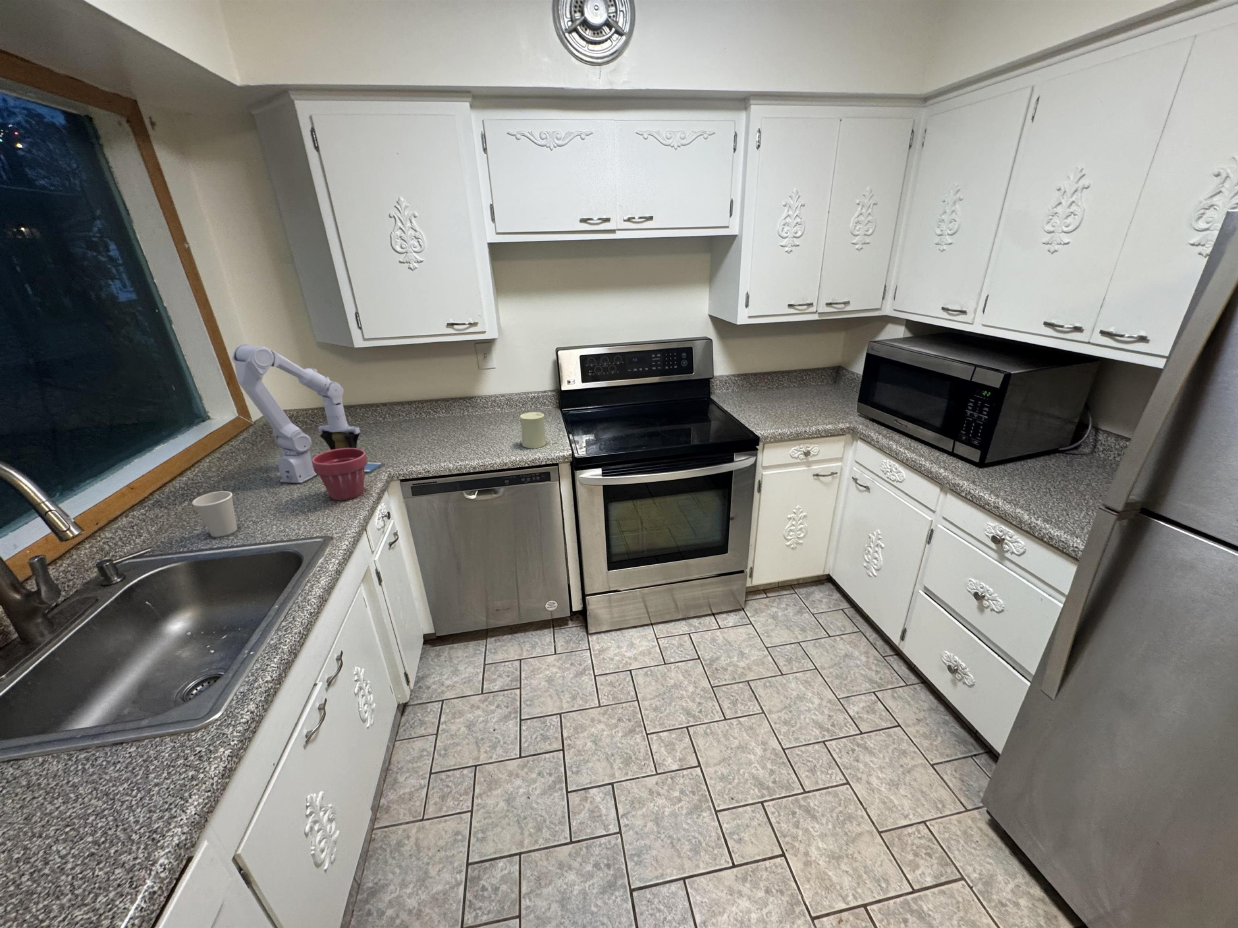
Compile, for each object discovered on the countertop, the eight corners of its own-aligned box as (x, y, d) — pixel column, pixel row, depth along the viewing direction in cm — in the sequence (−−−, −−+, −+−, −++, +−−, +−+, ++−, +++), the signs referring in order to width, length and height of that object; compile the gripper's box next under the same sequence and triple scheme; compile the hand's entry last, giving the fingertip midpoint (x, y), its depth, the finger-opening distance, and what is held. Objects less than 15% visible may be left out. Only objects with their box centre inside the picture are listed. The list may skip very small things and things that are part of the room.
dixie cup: (237, 520, 140) (226, 488, 136) (247, 530, 135) (236, 496, 131) (200, 532, 134) (188, 498, 130) (209, 542, 129) (196, 508, 125)
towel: (369, 473, 170) (368, 471, 170) (345, 471, 171) (344, 470, 171) (382, 464, 177) (382, 462, 177) (359, 463, 179) (359, 461, 178)
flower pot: (376, 482, 163) (369, 445, 158) (368, 500, 150) (360, 461, 146) (328, 487, 160) (318, 449, 155) (315, 506, 147) (305, 466, 142)
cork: (347, 464, 178) (340, 434, 173) (332, 463, 179) (325, 433, 175) (359, 458, 183) (352, 429, 179) (344, 456, 184) (337, 428, 180)
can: (548, 446, 193) (546, 416, 188) (524, 449, 190) (522, 419, 185) (543, 438, 201) (541, 409, 196) (520, 441, 198) (517, 412, 193)
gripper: (361, 412, 177) (369, 448, 182) (324, 411, 179) (333, 446, 185) (348, 418, 171) (357, 455, 176) (310, 416, 173) (319, 453, 178)
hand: (344, 451), depth 180 cm, fingers open, 7 cm apart
